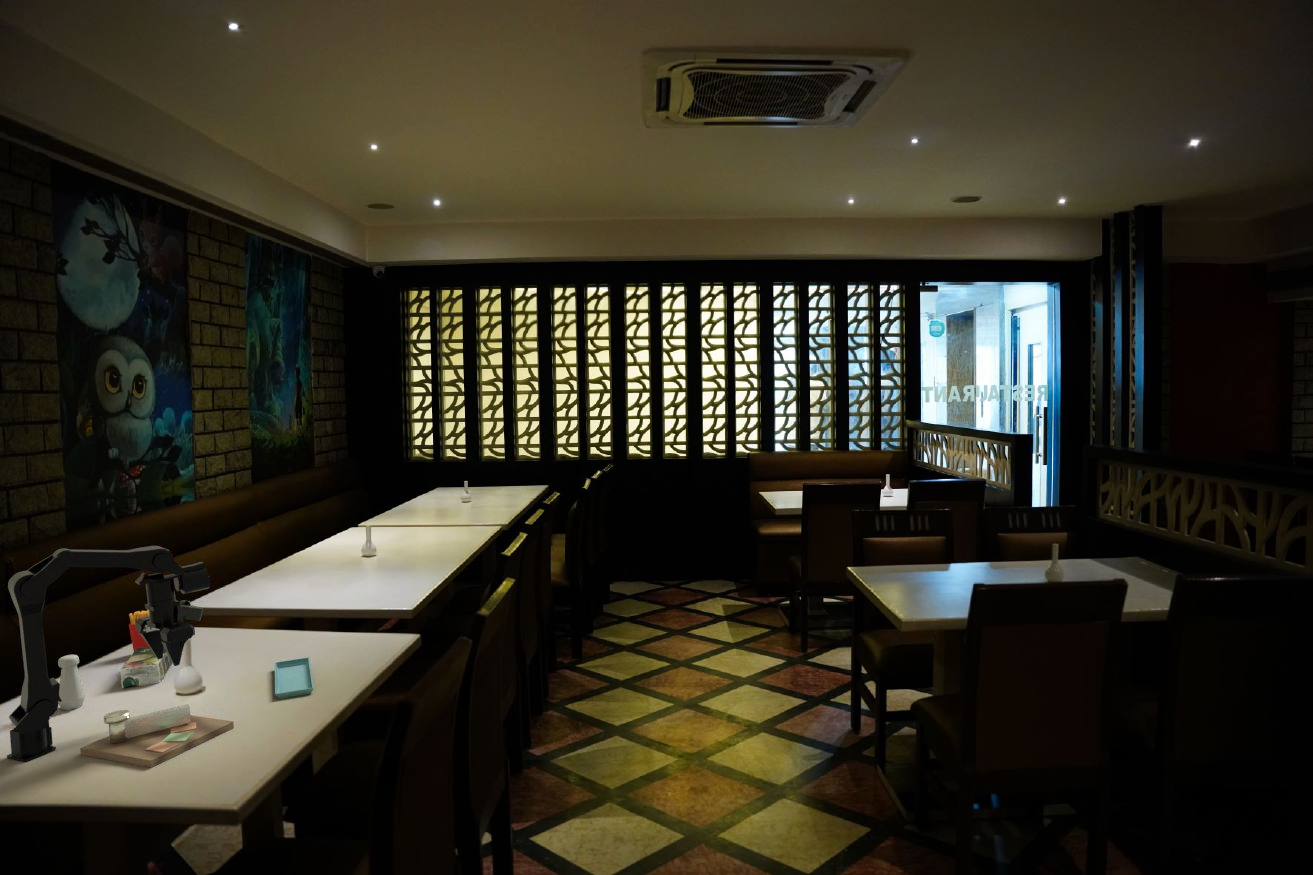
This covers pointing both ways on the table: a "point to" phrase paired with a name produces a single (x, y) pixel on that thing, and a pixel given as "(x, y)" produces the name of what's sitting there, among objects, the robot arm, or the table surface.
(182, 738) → the brown cutting board
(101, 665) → the table surface
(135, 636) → the french fries
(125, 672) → the juice carton
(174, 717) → the bar with metal cap
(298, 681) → the rectangular tray
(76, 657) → the salt shaker
